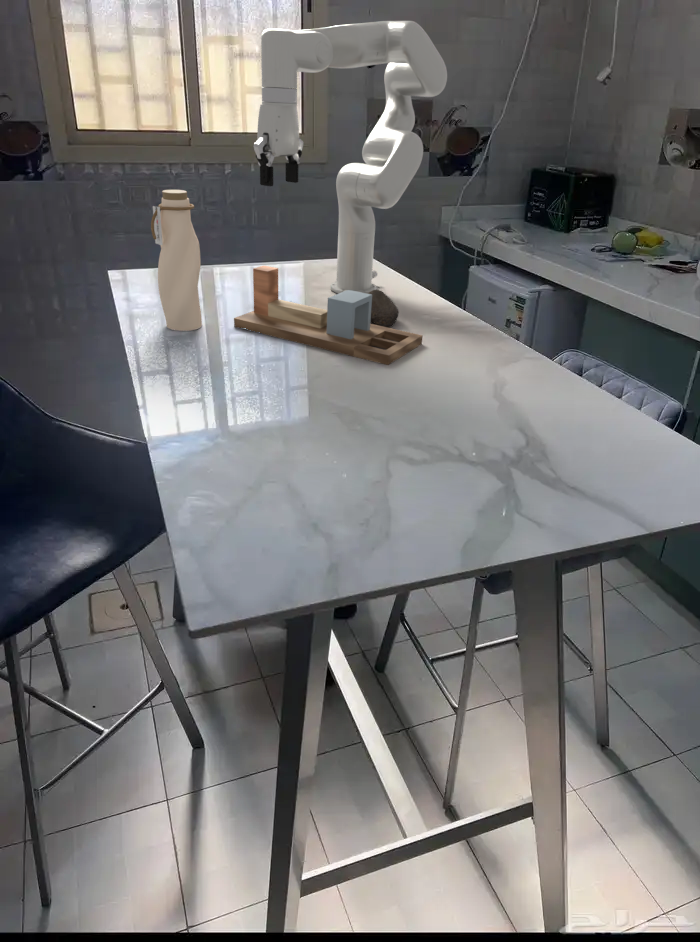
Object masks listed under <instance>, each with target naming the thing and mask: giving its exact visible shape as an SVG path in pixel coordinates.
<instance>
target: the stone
mask: <svg viewBox="0 0 700 942" xmlns="http://www.w3.org/2000/svg"><path fill="white" fill-rule="evenodd" d="M367 294H371V295H372V306H371V322H370V324H374V325H378V326H383V327H387V328H392V327H393V326H394V325H395V324H396V321H397V319H398V317H399V313H400V311H399V309H398V306H396V304H395V303H394V302H393V300H391V298H390V297H389V296H388V295H386V293H384V291H382V290H380V289H377V290H373V291H370V292H369V293H367Z"/></svg>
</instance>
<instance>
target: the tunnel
mask: <svg viewBox="0 0 700 942" xmlns="http://www.w3.org/2000/svg"><path fill="white" fill-rule="evenodd" d="M371 306H372V295H371V294H366V293H361V292H357V291H352V290H346V291H344V292H341V293H336V294H334V295H332V296H329V297H327V309H326V310H327V334H330V335H334V336H339V337H343V338H347V339H353V338H354V328H357V329H361V330H365V331H368V330H370V324H371Z"/></svg>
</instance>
